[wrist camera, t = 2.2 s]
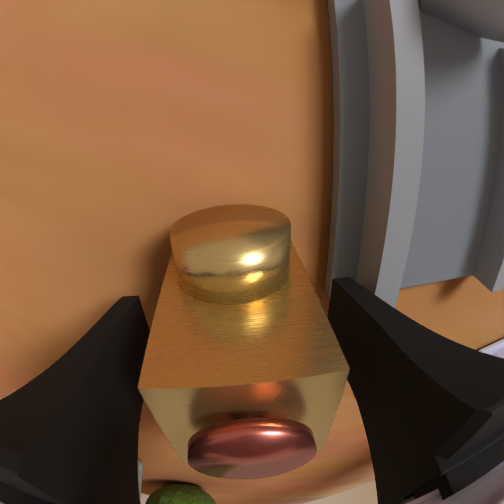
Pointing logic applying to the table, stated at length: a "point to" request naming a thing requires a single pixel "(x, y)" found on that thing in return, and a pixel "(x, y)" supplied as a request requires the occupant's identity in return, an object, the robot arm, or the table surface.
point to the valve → (241, 348)
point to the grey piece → (417, 143)
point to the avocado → (180, 495)
